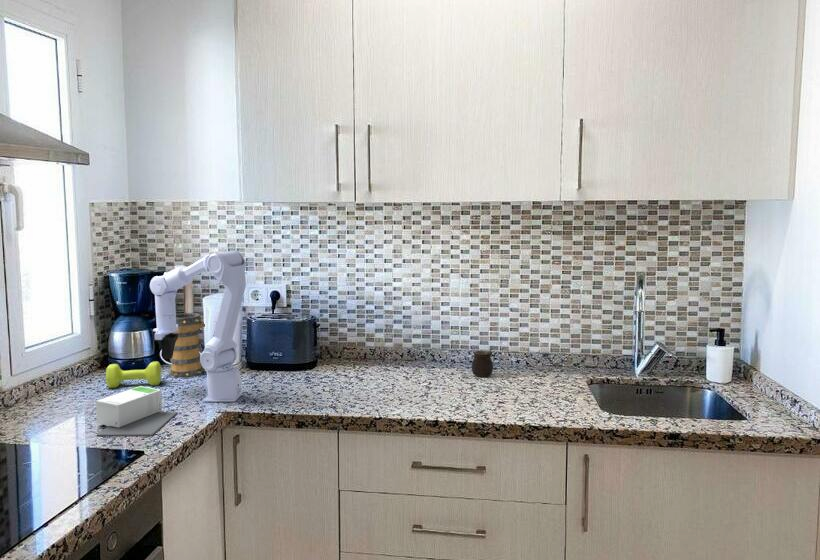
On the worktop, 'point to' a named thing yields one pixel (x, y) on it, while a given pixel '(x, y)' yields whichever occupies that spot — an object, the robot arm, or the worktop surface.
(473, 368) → the mate gourd
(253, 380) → the worktop surface
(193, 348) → the mug
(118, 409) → the skincare box
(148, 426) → the charcoal rubber mat
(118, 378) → the dumbbell
